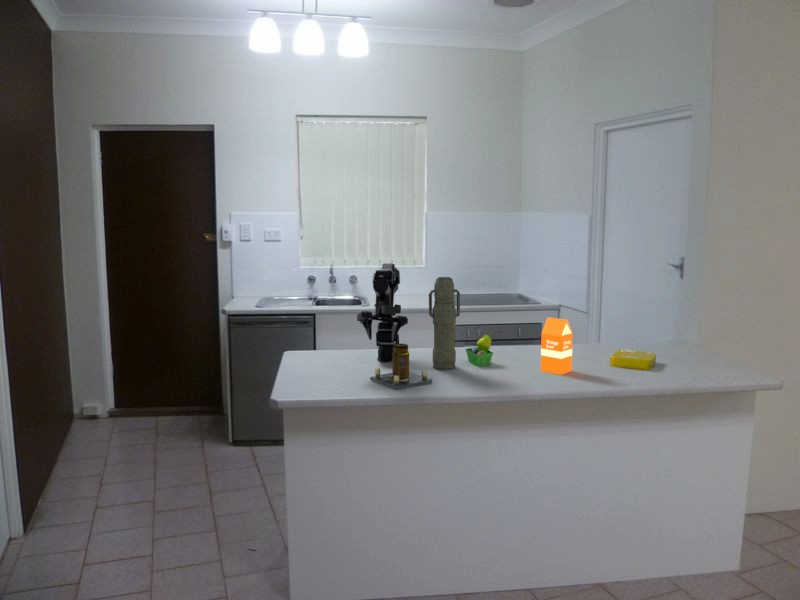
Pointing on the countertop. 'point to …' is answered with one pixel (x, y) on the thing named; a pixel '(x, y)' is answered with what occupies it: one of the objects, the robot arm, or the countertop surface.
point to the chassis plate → (397, 384)
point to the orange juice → (556, 346)
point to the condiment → (400, 362)
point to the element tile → (633, 359)
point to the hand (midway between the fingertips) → (381, 341)
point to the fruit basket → (480, 352)
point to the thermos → (444, 322)
